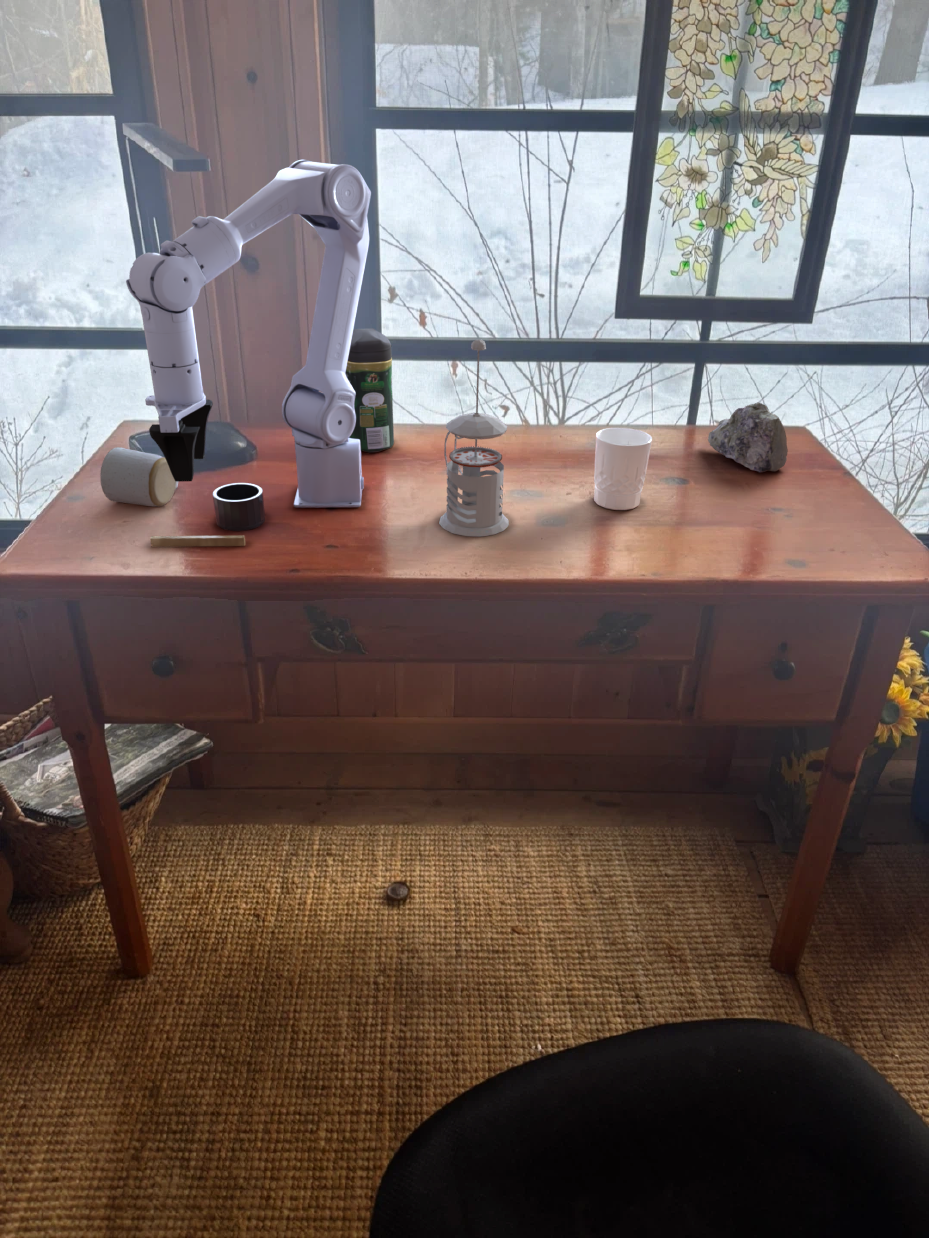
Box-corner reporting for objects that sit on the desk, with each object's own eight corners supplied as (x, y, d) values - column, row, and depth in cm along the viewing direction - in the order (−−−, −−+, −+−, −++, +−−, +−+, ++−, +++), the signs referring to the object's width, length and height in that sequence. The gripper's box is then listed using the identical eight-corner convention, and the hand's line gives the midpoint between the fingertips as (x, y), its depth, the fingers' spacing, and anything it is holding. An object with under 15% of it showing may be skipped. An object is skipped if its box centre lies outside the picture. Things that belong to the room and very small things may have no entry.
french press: (462, 542, 122) (466, 353, 109) (419, 511, 130) (418, 332, 117) (523, 527, 126) (533, 343, 113) (477, 498, 135) (482, 324, 122)
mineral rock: (703, 446, 156) (712, 388, 151) (765, 447, 156) (777, 389, 151) (722, 473, 145) (733, 412, 140) (789, 475, 145) (802, 413, 140)
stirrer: (249, 540, 120) (203, 494, 116) (248, 543, 119) (202, 496, 116) (193, 582, 123) (147, 539, 119) (192, 585, 122) (146, 541, 118)
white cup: (649, 497, 136) (658, 432, 131) (635, 516, 130) (643, 449, 125) (599, 487, 139) (605, 424, 134) (582, 506, 133) (588, 440, 128)
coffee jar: (342, 436, 157) (336, 325, 148) (388, 433, 159) (385, 324, 149) (349, 455, 149) (344, 340, 139) (397, 452, 151) (395, 338, 141)
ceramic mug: (156, 515, 127) (148, 463, 123) (103, 509, 128) (94, 456, 125) (193, 488, 136) (187, 439, 132) (143, 483, 137) (135, 433, 134)
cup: (268, 511, 129) (265, 482, 127) (262, 530, 123) (259, 501, 121) (220, 511, 129) (217, 483, 127) (212, 531, 123) (208, 501, 121)
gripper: (153, 346, 115) (169, 449, 122) (124, 378, 102) (144, 491, 109) (210, 346, 115) (223, 449, 122) (188, 378, 103) (204, 490, 110)
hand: (189, 469), depth 116 cm, fingers open, 7 cm apart
